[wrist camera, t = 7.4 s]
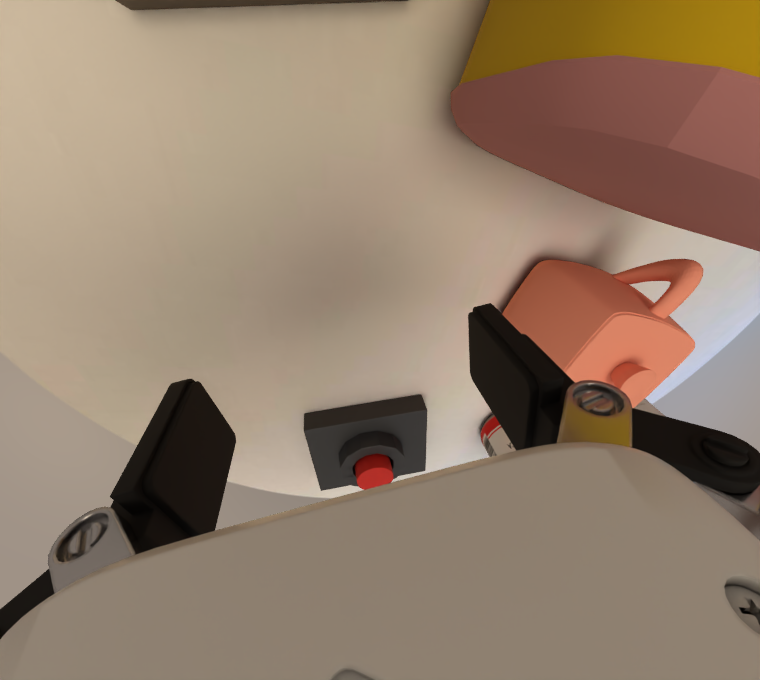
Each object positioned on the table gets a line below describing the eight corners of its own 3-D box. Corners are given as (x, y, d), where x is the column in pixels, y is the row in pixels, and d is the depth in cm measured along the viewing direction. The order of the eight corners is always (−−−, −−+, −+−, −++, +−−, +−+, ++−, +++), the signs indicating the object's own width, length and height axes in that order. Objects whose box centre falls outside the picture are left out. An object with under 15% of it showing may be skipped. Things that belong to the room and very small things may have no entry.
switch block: (320, 473, 38) (321, 506, 35) (304, 413, 33) (303, 446, 29) (420, 454, 40) (430, 485, 36) (421, 394, 34) (432, 423, 31)
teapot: (653, 252, 29) (794, 307, 21) (533, 398, 37) (598, 481, 29) (560, 203, 25) (688, 246, 17) (448, 379, 33) (495, 467, 25)
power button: (356, 477, 34) (358, 493, 33) (353, 456, 32) (354, 472, 31) (390, 471, 34) (394, 486, 33) (389, 449, 32) (392, 464, 31)
